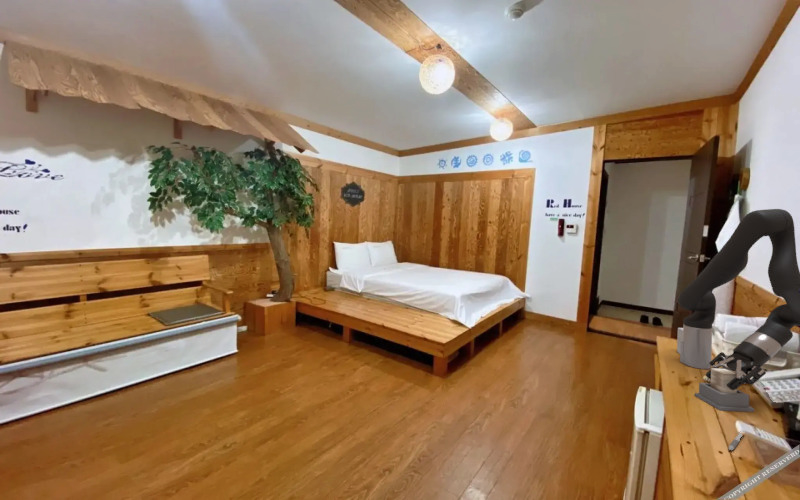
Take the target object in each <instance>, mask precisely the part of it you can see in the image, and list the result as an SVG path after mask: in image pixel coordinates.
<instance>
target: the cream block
mask: <svg viewBox="0 0 800 500" xmlns="http://www.w3.org/2000/svg"><path fill="white" fill-rule="evenodd" d="M719 368H720V367H719ZM719 368H712V367H711V368H710V369H711V379H710V383H711V388H713V389H715V390H717V391H719V392H721V393H737V389H738V388H737V389H735V390H731V389H729V388H728V387H727V384H728V383H729V382H730V381H731V380H732V379H734V378H737V372H736V373H735V371H732V370H730V371H729V370H727V369H719Z"/></svg>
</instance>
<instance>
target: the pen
mask: <svg viewBox="0 0 800 500" xmlns="http://www.w3.org/2000/svg"><path fill="white" fill-rule="evenodd" d="M741 437H742V433H740V432H738V433H737V435H736V437H735V438H734V439H733V441H732V442H730V443H729V445H728V451H730V450H731V451H733V450H735V448H736V447H737V445H738V444H739V443H740V441H741V440H740V438H741ZM742 438H743V437H742ZM742 438H741V439H742Z"/></svg>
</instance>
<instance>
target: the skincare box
mask: <svg viewBox="0 0 800 500" xmlns="http://www.w3.org/2000/svg"><path fill="white" fill-rule="evenodd" d="M676 340H677V341H676V344H677V345H676V352H677V353H678V354H679V355H680V345H681V341H683V327H677V339H676Z"/></svg>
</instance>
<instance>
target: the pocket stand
mask: <svg viewBox="0 0 800 500" xmlns="http://www.w3.org/2000/svg"><path fill="white" fill-rule="evenodd" d="M698 384H699V385H698V392H694V396H695V397H696V398H697V399H700V400H701V401H703V402H705V403H706V404H708V405H710V406H712V407H714V408H715V409H716V410H718V411H722V412H751V413H753V412H755V408H754V407H752V406H750V394H748V393H746V392H744V391H742V390H739V389H738V388H737V393H721V392H719V391H717V390H715V389H713V388H711V382H710V383H709V382H699V383H698Z"/></svg>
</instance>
